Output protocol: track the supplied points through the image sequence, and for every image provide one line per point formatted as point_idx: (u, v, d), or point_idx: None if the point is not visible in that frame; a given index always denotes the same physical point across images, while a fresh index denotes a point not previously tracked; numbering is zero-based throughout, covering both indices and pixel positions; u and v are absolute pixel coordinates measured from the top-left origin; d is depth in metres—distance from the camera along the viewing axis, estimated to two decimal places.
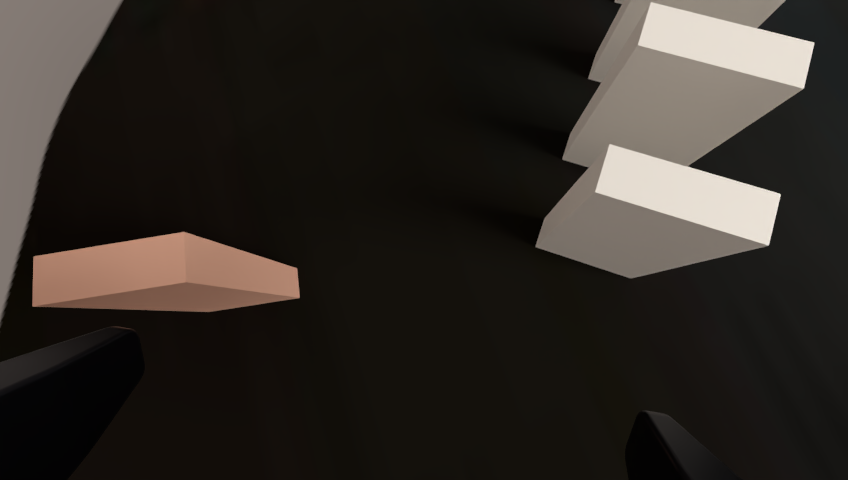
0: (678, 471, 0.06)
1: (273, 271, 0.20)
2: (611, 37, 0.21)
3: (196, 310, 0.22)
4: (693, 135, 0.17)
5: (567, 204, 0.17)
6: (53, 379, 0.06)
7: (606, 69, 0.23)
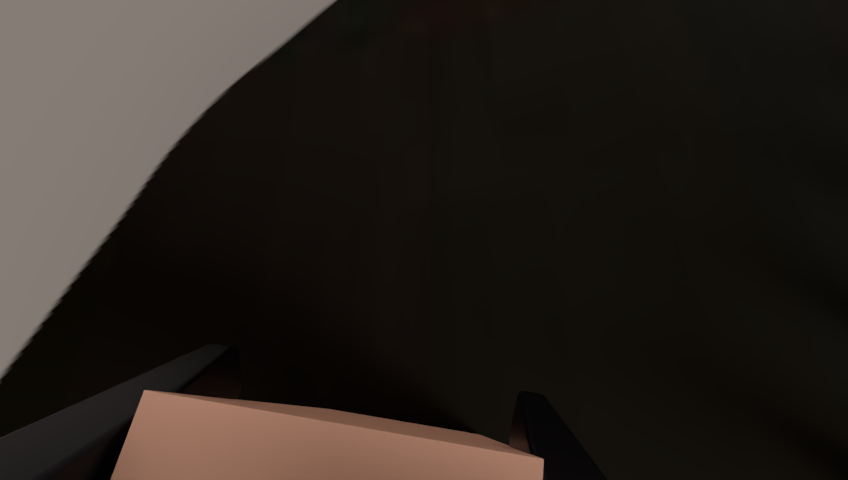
0: (529, 446, 0.06)
1: None
2: None
3: None
4: None
5: None
6: None
7: None
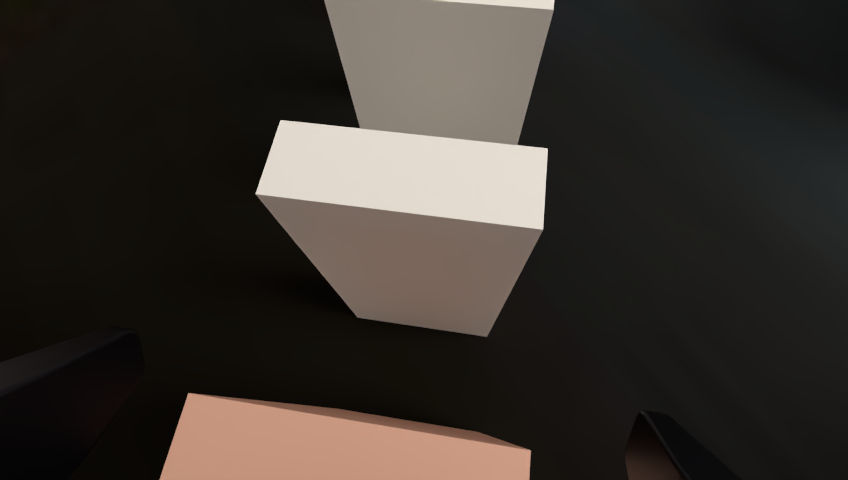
0: (678, 471, 0.06)
1: None
2: None
3: None
4: (483, 127, 0.13)
5: None
6: (53, 379, 0.06)
7: None
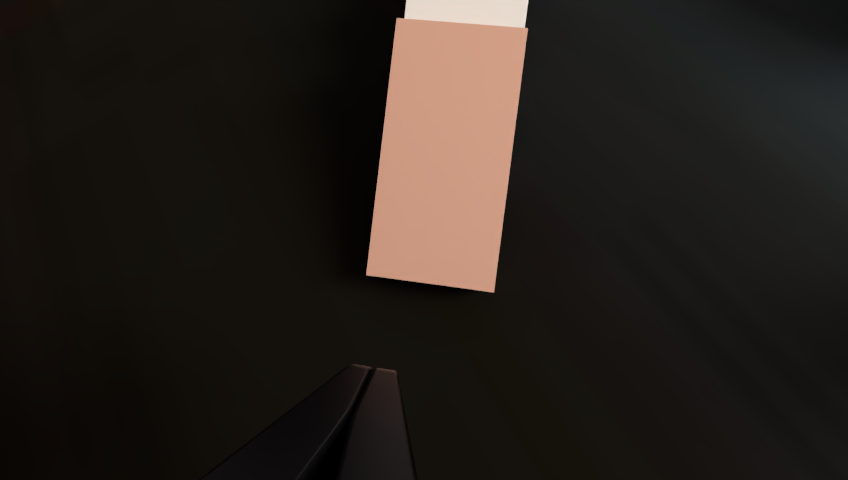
0: None
1: None
2: None
3: (377, 234, 0.17)
4: None
5: None
6: (345, 430, 0.06)
7: None
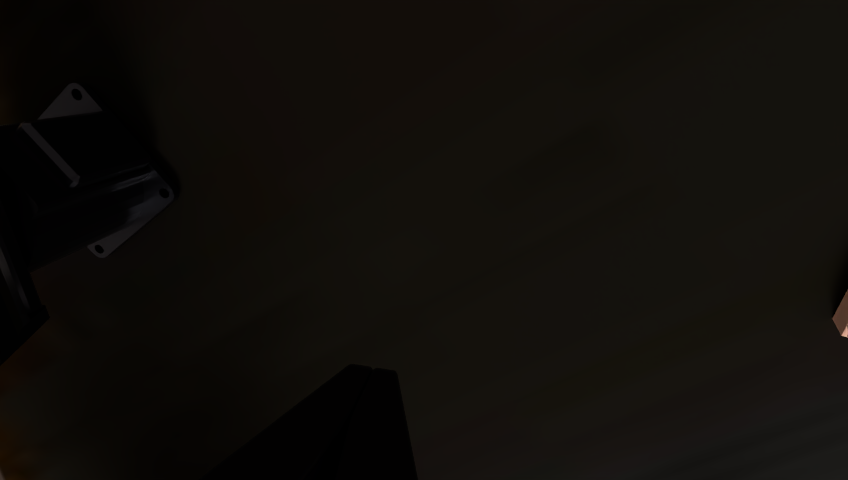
0: None
1: None
2: None
3: None
4: None
5: None
6: (345, 430, 0.06)
7: None
